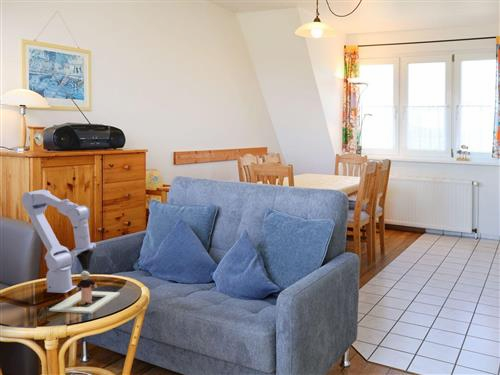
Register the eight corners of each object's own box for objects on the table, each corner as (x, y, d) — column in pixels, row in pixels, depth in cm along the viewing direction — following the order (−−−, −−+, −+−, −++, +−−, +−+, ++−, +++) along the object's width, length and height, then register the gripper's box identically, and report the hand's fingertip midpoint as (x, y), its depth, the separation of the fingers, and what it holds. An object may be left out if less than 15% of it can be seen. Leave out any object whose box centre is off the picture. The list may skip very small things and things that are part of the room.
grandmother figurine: (78, 306, 187) (75, 274, 185) (77, 303, 190) (73, 271, 189) (99, 301, 190) (96, 270, 189) (97, 299, 194) (94, 267, 192)
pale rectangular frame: (49, 311, 184) (48, 308, 183) (81, 292, 203) (81, 290, 202) (91, 313, 179) (91, 311, 178) (119, 294, 198) (119, 292, 198)
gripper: (80, 240, 189) (84, 274, 191) (100, 232, 203) (104, 264, 205) (64, 240, 191) (68, 274, 193) (85, 232, 205) (89, 264, 207)
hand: (86, 269), depth 199 cm, fingers closed
